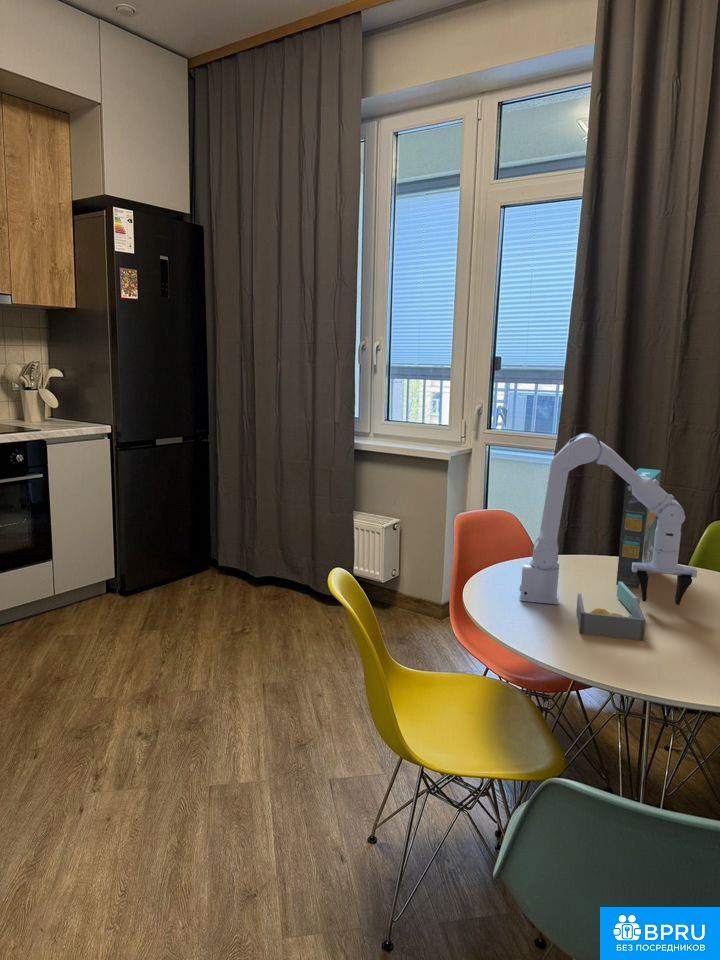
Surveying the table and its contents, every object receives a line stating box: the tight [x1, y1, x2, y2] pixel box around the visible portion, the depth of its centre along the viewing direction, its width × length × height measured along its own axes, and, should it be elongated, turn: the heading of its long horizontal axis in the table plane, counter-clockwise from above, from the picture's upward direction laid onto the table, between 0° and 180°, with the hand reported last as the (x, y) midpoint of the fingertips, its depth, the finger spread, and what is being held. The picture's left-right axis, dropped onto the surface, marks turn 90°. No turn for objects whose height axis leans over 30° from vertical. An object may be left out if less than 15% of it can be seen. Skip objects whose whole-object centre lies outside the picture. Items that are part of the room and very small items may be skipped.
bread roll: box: [589, 607, 625, 617], centre depth 158 cm, size 8×9×4 cm
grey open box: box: [575, 593, 646, 642], centre depth 159 cm, size 15×16×5 cm
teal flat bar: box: [616, 582, 641, 615], centre depth 170 cm, size 14×2×4 cm, turn 175°
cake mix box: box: [615, 468, 662, 589], centre depth 193 cm, size 22×6×30 cm, turn 149°
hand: (660, 601), depth 167 cm, fingers open, 7 cm apart
